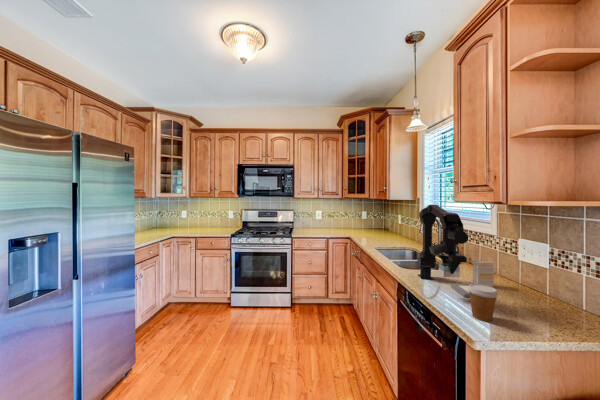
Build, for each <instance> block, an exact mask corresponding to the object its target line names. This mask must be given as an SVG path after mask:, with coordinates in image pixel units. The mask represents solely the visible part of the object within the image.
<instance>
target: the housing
mask: <svg viewBox="0 0 600 400" xmlns="http://www.w3.org/2000/svg"><path fill="white" fill-rule="evenodd" d="M460 267H461V266H460V265H459V266H458V267H457V269H456V270H455V272H454V274H450V267H449V263H442V262H438V275H440V276H442V277H443V278H460V273H461V272H460V271H461V269H460Z"/></svg>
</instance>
